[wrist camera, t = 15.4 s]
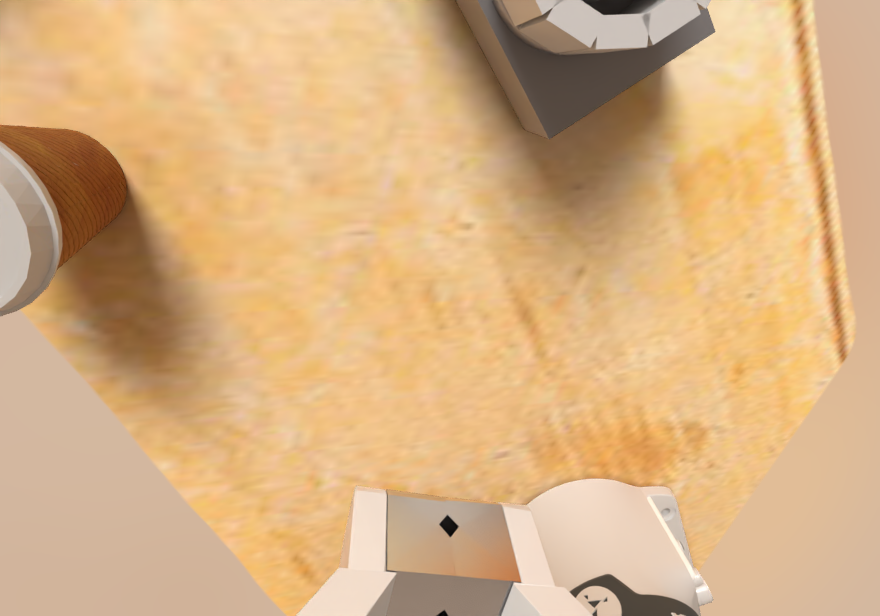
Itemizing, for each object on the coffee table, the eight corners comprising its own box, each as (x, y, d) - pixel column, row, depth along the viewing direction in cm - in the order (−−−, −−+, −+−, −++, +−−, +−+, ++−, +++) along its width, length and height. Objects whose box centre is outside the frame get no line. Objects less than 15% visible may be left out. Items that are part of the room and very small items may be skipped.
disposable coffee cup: (184, 210, 35) (90, 270, 24) (68, 276, 36) (-73, 362, 25) (81, 70, 31) (-87, 65, 20) (-45, 147, 32) (-269, 183, 21)
